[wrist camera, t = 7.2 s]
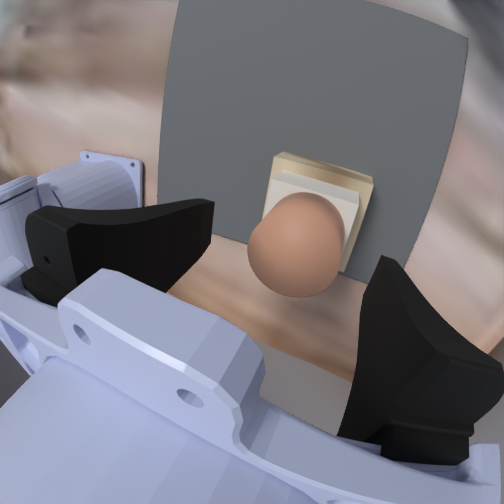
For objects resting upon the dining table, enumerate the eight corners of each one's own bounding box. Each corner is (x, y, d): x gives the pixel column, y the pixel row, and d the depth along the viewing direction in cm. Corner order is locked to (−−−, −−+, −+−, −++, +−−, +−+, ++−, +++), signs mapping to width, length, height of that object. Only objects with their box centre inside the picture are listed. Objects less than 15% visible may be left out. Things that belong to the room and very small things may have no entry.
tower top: (269, 238, 20) (257, 254, 18) (282, 170, 18) (271, 179, 16) (336, 260, 19) (333, 279, 17) (359, 192, 17) (358, 204, 15)
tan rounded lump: (263, 252, 18) (242, 282, 15) (274, 183, 16) (253, 202, 13) (333, 272, 17) (325, 308, 14) (353, 204, 15) (351, 228, 12)
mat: (159, 213, 27) (157, 215, 26) (183, -7, 16) (181, -8, 15) (391, 288, 22) (391, 291, 22) (466, 39, 11) (467, 38, 11)
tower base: (267, 230, 23) (257, 244, 21) (283, 151, 20) (273, 156, 18) (346, 255, 22) (343, 272, 20) (372, 176, 18) (373, 185, 16)
